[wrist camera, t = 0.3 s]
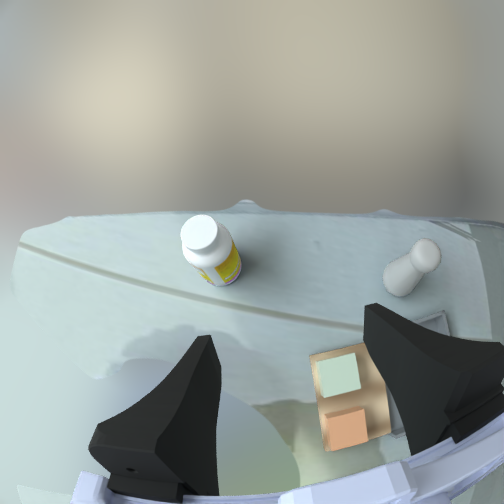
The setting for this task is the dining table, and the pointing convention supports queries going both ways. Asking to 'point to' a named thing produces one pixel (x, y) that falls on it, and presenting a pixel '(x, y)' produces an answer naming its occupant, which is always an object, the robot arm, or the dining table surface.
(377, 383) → the board
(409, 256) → the salt shaker
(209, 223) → the supplement bottle
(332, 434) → the tile terracotta
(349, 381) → the tile sage
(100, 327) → the dining table surface
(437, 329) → the tray
